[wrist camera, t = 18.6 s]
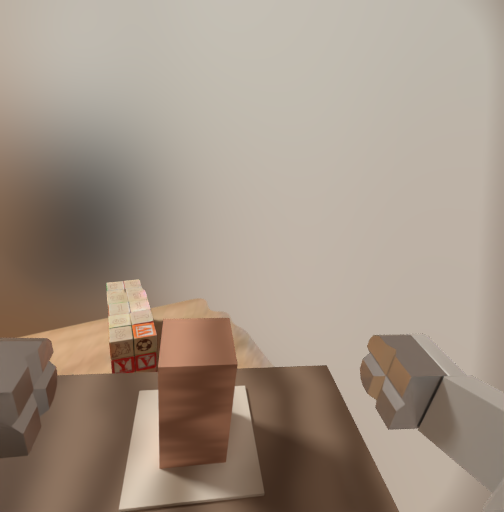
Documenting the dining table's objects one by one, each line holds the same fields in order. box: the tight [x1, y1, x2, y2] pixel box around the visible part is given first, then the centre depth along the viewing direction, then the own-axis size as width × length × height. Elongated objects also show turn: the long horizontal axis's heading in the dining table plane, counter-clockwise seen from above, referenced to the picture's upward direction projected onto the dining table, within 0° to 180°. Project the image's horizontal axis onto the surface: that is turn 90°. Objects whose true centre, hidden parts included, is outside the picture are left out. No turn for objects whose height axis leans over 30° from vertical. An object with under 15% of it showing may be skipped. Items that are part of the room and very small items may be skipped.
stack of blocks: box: [106, 280, 157, 374], centre depth 57 cm, size 21×6×12 cm, turn 23°
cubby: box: [0, 365, 399, 512], centre depth 31 cm, size 29×15×18 cm, turn 99°
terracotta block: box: [158, 318, 237, 469], centre depth 25 cm, size 5×5×10 cm
